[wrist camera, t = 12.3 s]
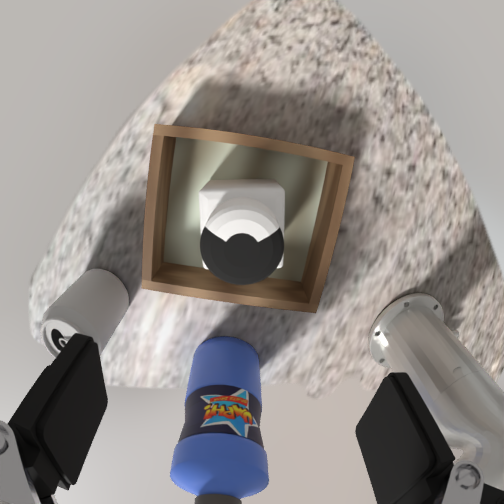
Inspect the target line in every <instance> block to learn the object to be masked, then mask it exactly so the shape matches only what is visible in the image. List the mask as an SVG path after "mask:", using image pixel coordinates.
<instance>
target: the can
mask: <svg viewBox="0 0 504 504" xmlns="http://www.w3.org/2000/svg"><path fill="white" fill-rule="evenodd" d="M128 305H129V297H128V293H127V290H126V288H125V286H124V285H123V283H122V282H121V281H120V280H119V279H118V277H117V276H115V275H114V274H112V273H111V272H109V271H106V270H103V269H91V270H89V271H86V272H85V273H84V274H83V275H82V276H81V277H80V278H79V279H78V280H77V281H76V282H75V283H73V284H72V285H71V286H70V287H69V288H68V289H67V290H66V291H65V292H64V293H63V294H62V295H61V296H60V297H59V298H58V299H57V300H56V301H55V302H54V303H53V304H52V305H51V306H50V307H49V308H48V309H47V311H46V312H45V313H44V316H43V320H42V326H41V330H40V332H41V339H42V341H43V343H44V346H45V347H46V349H47V350H48V352H49V353H50V354H51V355H52V356H53V357H54V358H56V357H57V356H58V354H59V353H60V352H61V350H62V349H63V347H64V346H65V345H66V343H67V342H68V341H69V339H70V338H71V337H72V336H73V334H74V333H80V334H83V335H87V336H91V337H92V338H93V340H94V342H96V343H97V344H98V347H99V354H100V355H101V353H102V351H103V350H104V348H105V346H106V345H107V343H108V341H109V340H110V338H111V336H112V334H113V333H114V331H115V329H116V328H117V326H118V325H119V323H120V321H121V320H122V318H123V316H124V315H125V313H126V311H127V309H128Z"/></svg>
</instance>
